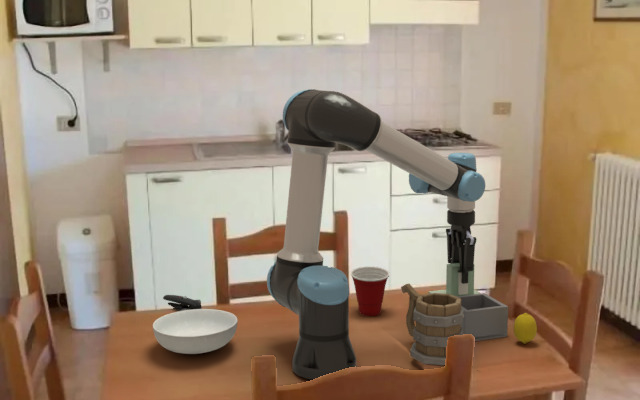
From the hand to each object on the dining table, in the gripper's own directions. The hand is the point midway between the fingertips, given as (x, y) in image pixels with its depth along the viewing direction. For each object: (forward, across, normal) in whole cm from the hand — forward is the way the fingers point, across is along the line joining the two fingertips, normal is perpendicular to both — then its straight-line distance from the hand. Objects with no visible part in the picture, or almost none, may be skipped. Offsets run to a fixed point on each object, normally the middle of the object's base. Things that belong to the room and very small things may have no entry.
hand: (459, 291), depth 217 cm
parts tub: (+6, -16, +4) cm, 17 cm away
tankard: (+6, -23, +21) cm, 32 cm away
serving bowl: (+6, -2, +74) cm, 74 cm away
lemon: (+6, -28, -3) cm, 28 cm away
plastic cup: (+6, +7, +24) cm, 26 cm away
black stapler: (+6, +26, +74) cm, 78 cm away
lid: (+3, 0, 0) cm, 3 cm away
